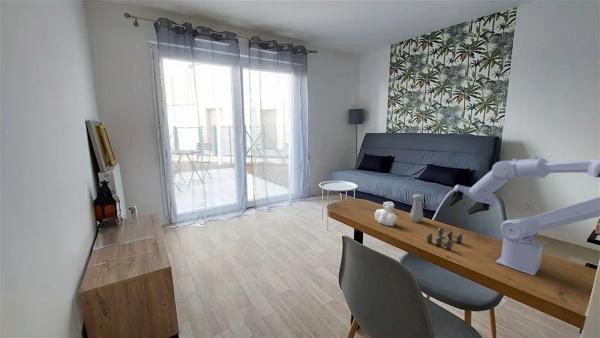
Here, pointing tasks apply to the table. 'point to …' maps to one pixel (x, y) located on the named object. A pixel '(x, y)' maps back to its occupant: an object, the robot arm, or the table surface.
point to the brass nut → (444, 239)
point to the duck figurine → (386, 214)
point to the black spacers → (449, 242)
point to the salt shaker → (417, 208)
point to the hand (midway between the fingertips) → (459, 208)
